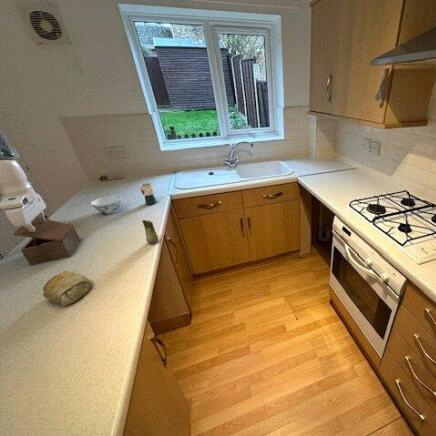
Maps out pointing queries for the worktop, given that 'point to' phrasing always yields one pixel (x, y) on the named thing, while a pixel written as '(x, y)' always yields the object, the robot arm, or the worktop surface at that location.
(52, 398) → the worktop surface
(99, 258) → the worktop surface
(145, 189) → the character mug
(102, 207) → the chinaware
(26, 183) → the robot arm
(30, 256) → the chest
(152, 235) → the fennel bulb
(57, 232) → the chest lid
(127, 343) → the worktop surface
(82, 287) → the pastry
